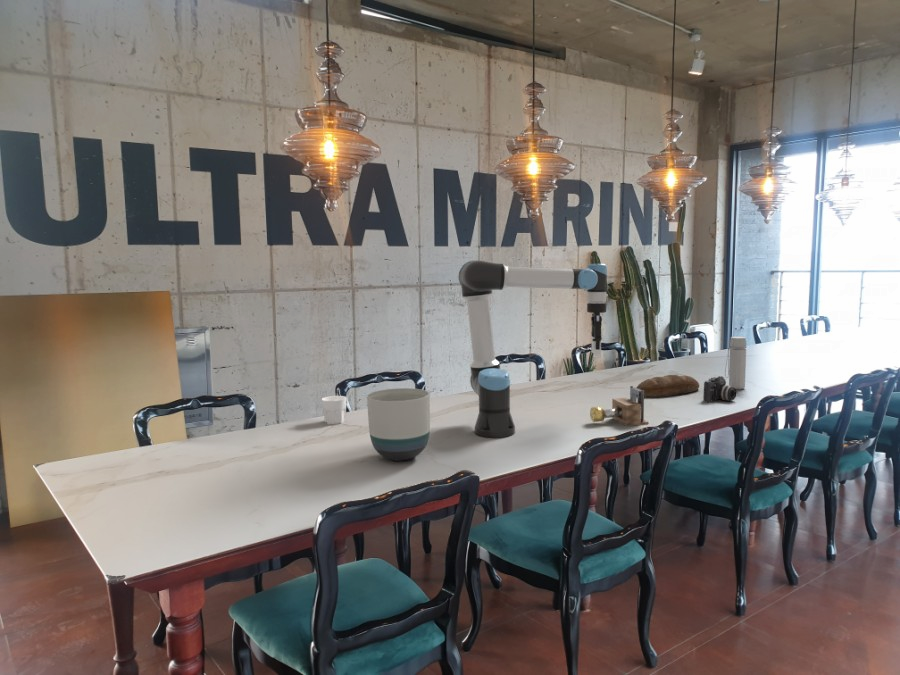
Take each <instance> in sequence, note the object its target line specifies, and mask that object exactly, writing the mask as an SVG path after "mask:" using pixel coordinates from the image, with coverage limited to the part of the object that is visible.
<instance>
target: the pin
mask: <svg viewBox="0 0 900 675" xmlns="http://www.w3.org/2000/svg"><path fill="white" fill-rule="evenodd" d="M589 416H590V420H591V421H592V423H597V422H598V423H599V422H604V420H605V419H607V418H612V417H622V408H621V409H612V408H610V409H604V408H603V407H602V406H595V407H592V406H591V408H590V411H589Z"/></svg>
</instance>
